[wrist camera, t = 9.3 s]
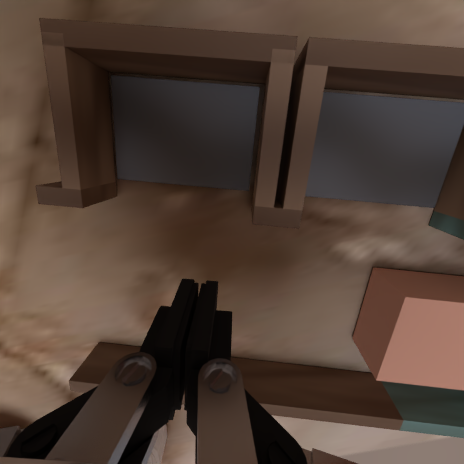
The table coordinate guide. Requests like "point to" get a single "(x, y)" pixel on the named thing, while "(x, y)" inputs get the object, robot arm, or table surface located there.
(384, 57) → the box
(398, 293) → the block
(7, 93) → the table surface
